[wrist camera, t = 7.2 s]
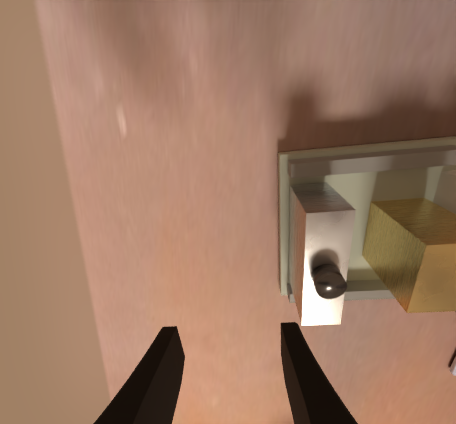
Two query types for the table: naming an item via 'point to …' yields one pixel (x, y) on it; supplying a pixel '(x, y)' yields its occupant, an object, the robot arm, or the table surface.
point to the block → (413, 252)
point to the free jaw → (319, 251)
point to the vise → (367, 193)
